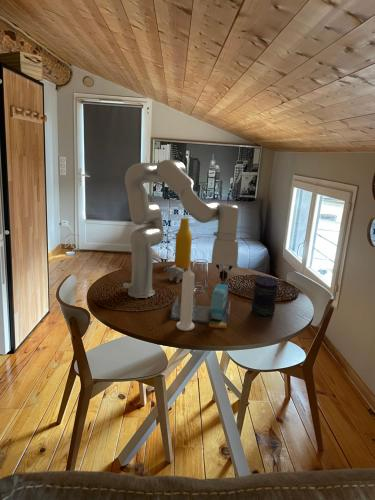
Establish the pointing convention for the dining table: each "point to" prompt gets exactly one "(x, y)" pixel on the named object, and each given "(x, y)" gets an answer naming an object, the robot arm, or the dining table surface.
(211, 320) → the rack
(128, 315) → the dining table surface
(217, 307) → the data package
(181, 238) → the beer bottle
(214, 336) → the dining table surface
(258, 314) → the storage jar
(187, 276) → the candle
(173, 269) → the gray elephant figurine
